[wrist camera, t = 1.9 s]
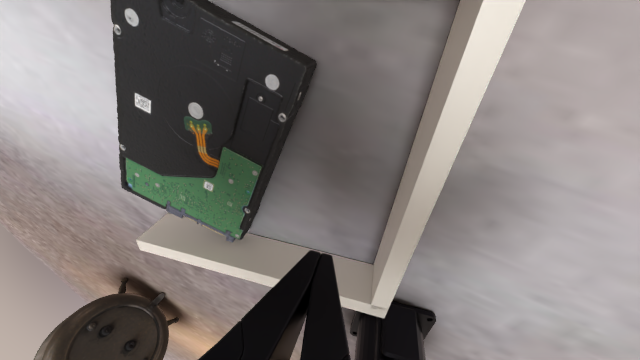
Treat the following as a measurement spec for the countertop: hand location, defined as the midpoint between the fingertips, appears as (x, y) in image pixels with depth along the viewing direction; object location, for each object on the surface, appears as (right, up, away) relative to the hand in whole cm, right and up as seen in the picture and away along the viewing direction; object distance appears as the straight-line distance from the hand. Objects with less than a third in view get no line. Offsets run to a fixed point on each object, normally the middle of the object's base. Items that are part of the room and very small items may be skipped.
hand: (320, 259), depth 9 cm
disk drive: (-7, +7, +9) cm, 13 cm away
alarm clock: (-21, -12, +23) cm, 34 cm away
